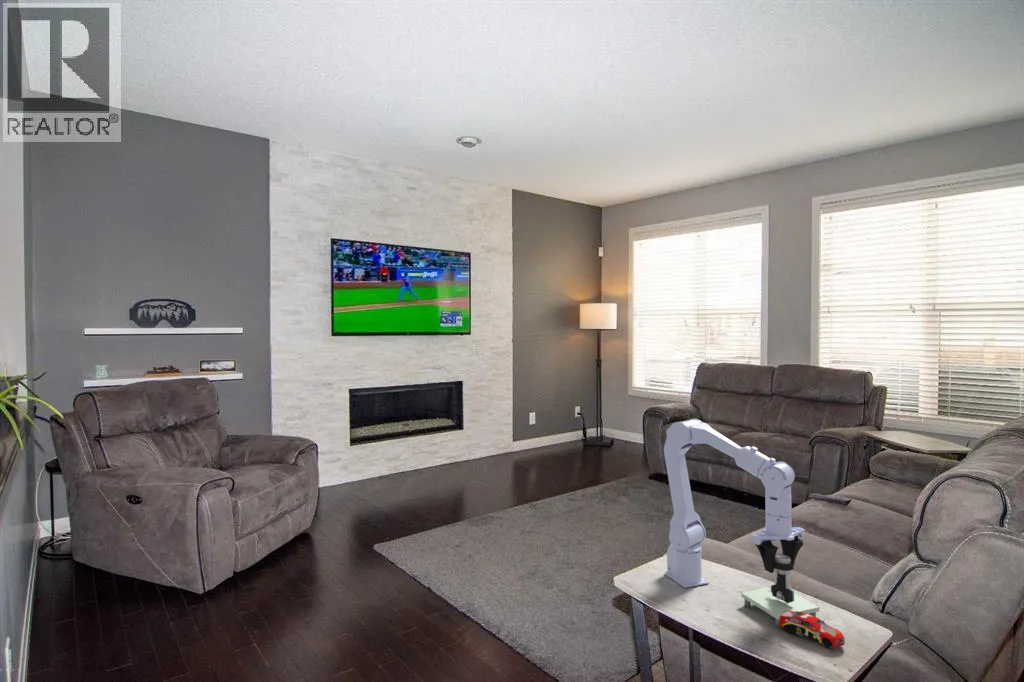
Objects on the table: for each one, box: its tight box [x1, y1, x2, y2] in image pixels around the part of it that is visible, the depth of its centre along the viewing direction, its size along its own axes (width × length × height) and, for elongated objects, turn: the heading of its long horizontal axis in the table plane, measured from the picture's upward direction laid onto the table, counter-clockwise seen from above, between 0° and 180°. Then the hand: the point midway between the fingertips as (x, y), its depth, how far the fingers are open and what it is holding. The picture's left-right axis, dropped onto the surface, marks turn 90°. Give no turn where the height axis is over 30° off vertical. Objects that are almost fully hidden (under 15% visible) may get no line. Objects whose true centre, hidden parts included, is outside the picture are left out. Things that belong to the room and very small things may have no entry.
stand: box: [740, 586, 820, 629], centre depth 132 cm, size 12×12×3 cm
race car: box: [779, 611, 846, 649], centre depth 121 cm, size 13×5×4 cm, turn 37°
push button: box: [767, 553, 796, 603], centre depth 131 cm, size 7×5×10 cm
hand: (778, 569), depth 132 cm, fingers closed on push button, 5 cm apart
